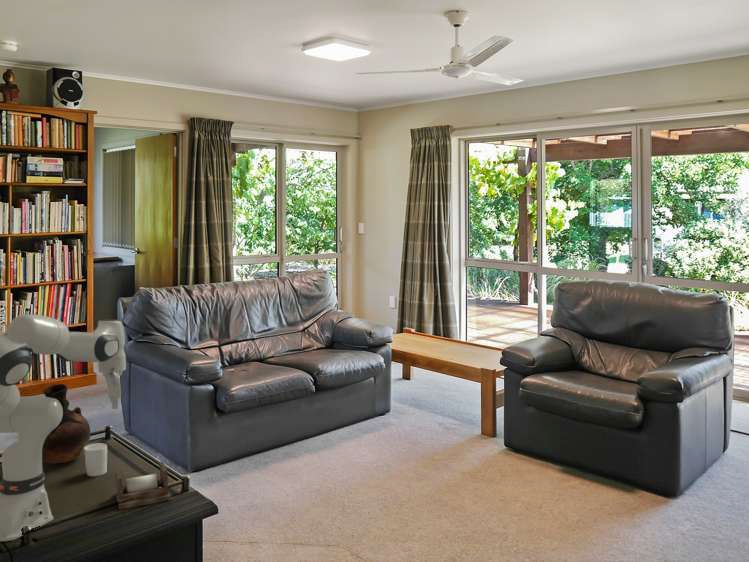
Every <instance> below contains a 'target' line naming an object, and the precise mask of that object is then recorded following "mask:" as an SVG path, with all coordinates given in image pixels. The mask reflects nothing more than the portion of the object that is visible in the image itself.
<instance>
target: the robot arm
mask: <svg viewBox="0 0 749 562" xmlns="http://www.w3.org/2000/svg"><path fill="white" fill-rule="evenodd" d="M125 340H126V338H125V328H124V325H123V323H122V321H121V320H119V319H106V318H103V319H100V320H98V321H97V327H96V329H94V330H93V331H92V332H83V331H82V332H81V331H74V330H73V331H70V330H69V327H68V326H67V325H66V324H65V322H63V321H61V320H59V319H56V318H53V317H51V316H46V315H40V314H31V313H29V314H20V315H17V316H15V318H13V319H12V320H11V321H10V323H9V325H8V327H7V330H6V331H2V330H0V434H7V433H8V434H11V433H15V434H16V433H17V434H18V440H17V441H15V442H13V443H12V444H10V445H8V446H7V447H6V448H5V449H4V450H3V452H2V454H1V466H2V467H1V468H2V477H1V480H0V542H8V541H15V540H17V539H18V538H21V537H23V535H22V531H21V529H22V528H23V527H25V526H28V527H31V528H35V527H38V526H40V527H43V526H44V525H46V524H48V523H49V522H51V521H53V520H54V516H53V514H52V511H51V507H50V502H49V497H48V493H47V491H46V488H45V482H46V480H45V479H46V476H45V471H44V470H43V460H42V448H43V444H44V441H45V439H46V437H47V436H48V434H49V433H50V432H51V431H52V430H54V429H55V428H56V427H57V426H58V425H59V423H60V422H61V420H62V416H63V409H62V406H61V404H60V402H59V401H58V400H57V399H54V398H49V397H46V396H44V395H43V396H42V395H40V396H39V395H38V396H37V395H34V396H33V395H30V396H25V395H24V396H21V393H20V390H19V388H18V387H17V386H16V384H18V383H20V382H22V381H23V380H24V379H25V378H26V377H27V376H28V374H29V373H30V370H31V368H32V365H33V361H34V357H35V354H38V355H45V356H46V355H48V356H49V355H51V356H52V355H56V356H57V357H58V358H59V359H60V360H61V361H63V362H69V363H70V362H85V363H86V362H87V363H97V366H98V372H99V373H101V374H102V377H104V379H105V383H106V387H107V393H108V397H109V400H110V402H111V409H112V410H116V409H118V408H119V404H118V403H119V399H120V398H121V395H122V392H121V388H122V387H121V378H120V376H122V375H123V372H124V371H126V370H127V362H126V361H127V359H126V353H125V344H126V341H125ZM38 528H39V527H38Z"/></svg>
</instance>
